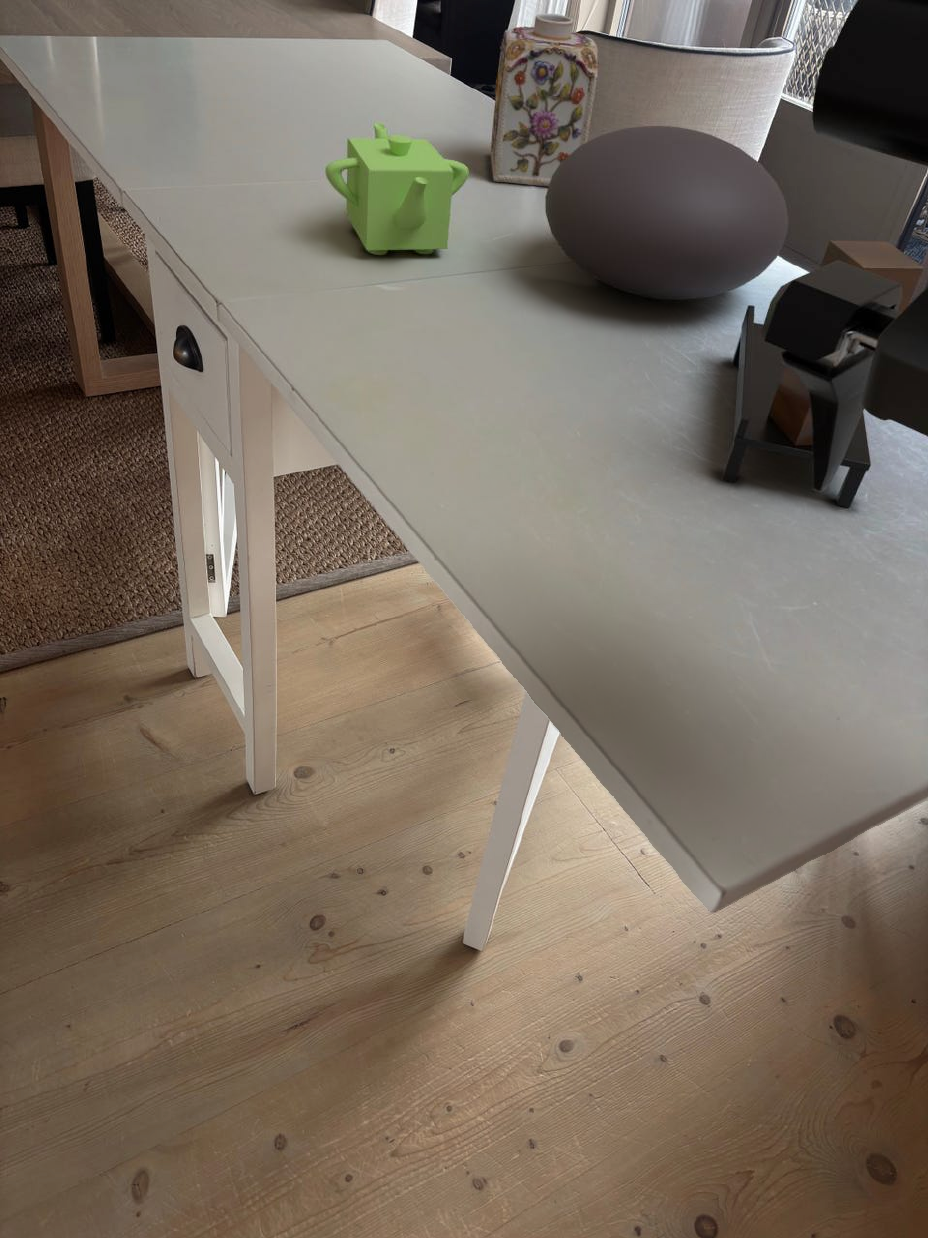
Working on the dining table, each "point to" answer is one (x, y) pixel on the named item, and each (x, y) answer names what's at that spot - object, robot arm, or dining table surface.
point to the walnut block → (896, 266)
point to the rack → (755, 401)
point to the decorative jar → (541, 99)
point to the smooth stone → (666, 212)
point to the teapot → (397, 191)
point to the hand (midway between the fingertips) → (902, 530)
